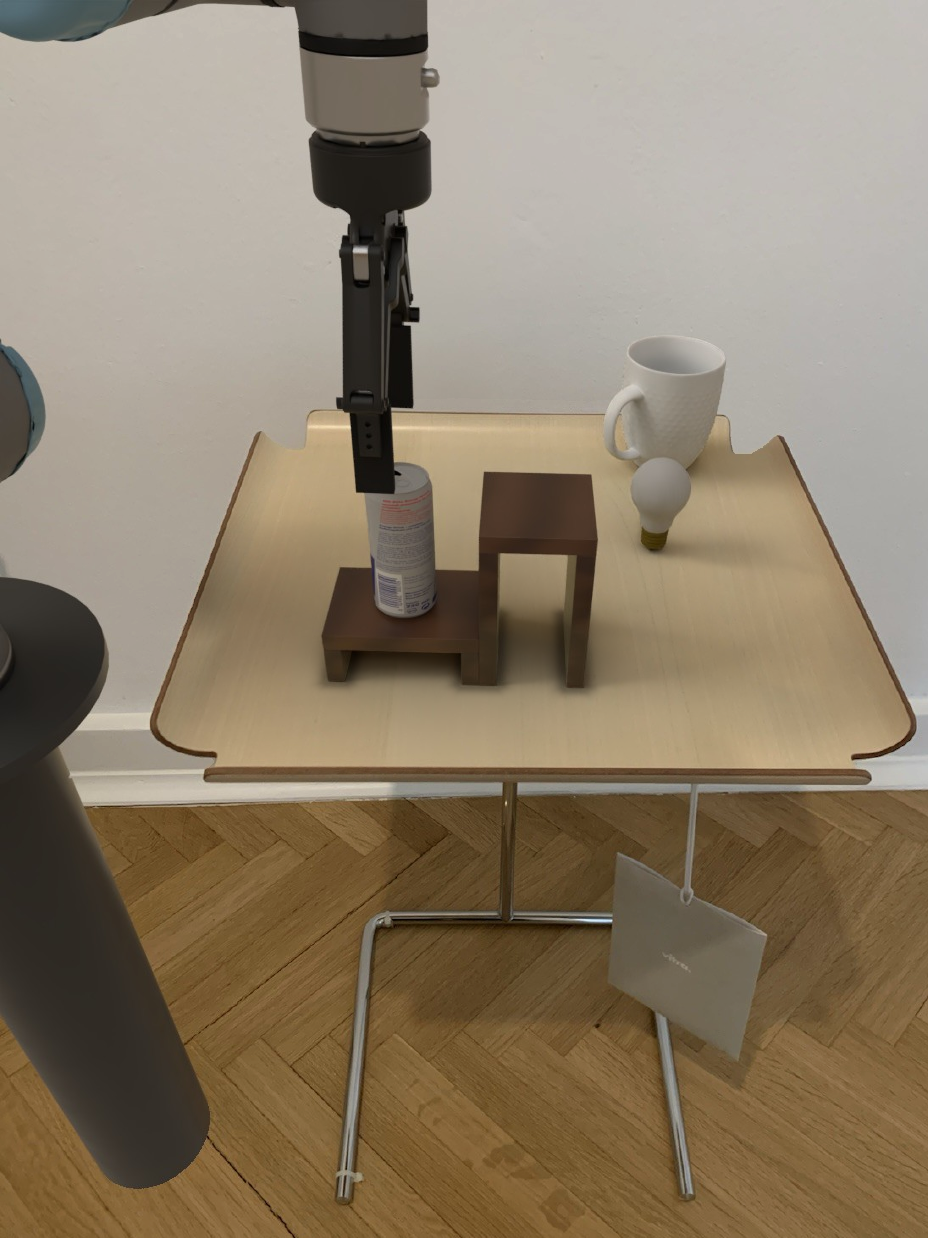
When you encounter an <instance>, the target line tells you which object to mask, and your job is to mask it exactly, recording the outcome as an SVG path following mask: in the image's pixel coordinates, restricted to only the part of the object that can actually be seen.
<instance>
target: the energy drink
mask: <svg viewBox="0 0 928 1238" xmlns="http://www.w3.org/2000/svg"><path fill="white" fill-rule="evenodd" d="M394 471H395V493H394V494H375V493H363V494H364V503H365V514H366V515H365V516H366V527H367V535H368V546H369V547H368V548H369V558H370V566H371V567H370V568H371V569H372V580H373V590H374V600H375V604H376V606H377V607H378V608H379V610H381V611H382V612H384V613H385V614H387V615H389V616H392V617H395V618H413V617H417V616H420V615H422V614H424V613H426V612H427V611H429V610H430V609H431V608H432V607H433V606H434V604H435V602H436V599H437V589H436V570H437V568H436V565H437V564H436V541H435V521H434V520H435V518H434V494H433V492H434V491H433V483H432V481H431V479H430V474H429V472H428V471H427V470H426V469H425V468H424V467H422V466H421V465H418V464H416V463H411V462H406V461H405V462H404V461H396V462H395V461H394Z"/></svg>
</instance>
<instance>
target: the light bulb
mask: <svg viewBox="0 0 928 1238" xmlns="http://www.w3.org/2000/svg"><path fill="white" fill-rule="evenodd" d="M691 494H692V481H691V477H690V474H689V473H688V471H687V469H685V468H684V467H683V466H682V465H681V464H680V463H678V462H677V461H675V460H673V459H670V458H664V457H660V458H654V459H651V460H649V461H647V462H645V463H644V464H642V465H641V466H640V467H638V468H637V469H636V471H635V473H634V474H633V476H632V479H631V482H630V496H631V500H632V502H633V504H634V506H635V508H636V509H637V512H638V515H639V521H640V525H641V527H640V528H641V530H640V543H641V545H642V546H643V547H645V548H647V549H648V550H650V551H655V550H658V549H661V548H664V547H665V546H666V545H667V540H668V535H669V531H670V528H671V527H672V525H673V523H674V520H675V518H676V517H677V516H678V515H679V513H680V512H682V510H683V509H684V508H685V507H686V505H687V504H688V502H689V499H690V497H691Z"/></svg>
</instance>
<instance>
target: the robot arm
mask: <svg viewBox="0 0 928 1238" xmlns="http://www.w3.org/2000/svg"><path fill="white" fill-rule="evenodd" d="M203 4H204V5H215V4H216V5H233V6H234V5H239V6H260V7H261V6H262V7H269V8H283V9H284V8H286V7H287V8H294V12H295V16H296V20H297V26H298V27H297V29H298V31H297V33H298V34H297V35H298V50H299V61H300V73H301V83H302V94H303V96H302V97H303V104H304V105H303V107H304V117H305V120H306V122H307V123H308V124H309V125H310V126H311V127H312V128H314V129H315V130H314V131H313V132H312V133H311V135H310V137H309V138H308V148H309V151H308V152H309V161H310V162H309V163H310V170H311V171H310V172H311V181H312V182H311V184H312V189H313V190H312V192H313V195H314V196H315V198H316V200H318V201H319V202H320V203H321V204H322V205H325V206H327V207H329V208H331V209H339V210H342V211H343V212H344V213H346V214H347V215H348V216H349V222H348V223H347V228H346V229H347V230H346V232H347V233H346V234H342V236H341V243H340V247H339V249H338V257H339V259H340V272H341V300H342V303H341V304H342V305H341V311H342V312H341V313H342V314H341V316H342V317H341V319H342V320H341V321H342V323H341V325H342V329H341V330H342V335H341V336H342V337H341V339H342V340H341V341H342V397H340V396H336V397H335V405H336V409H337V410H342V411H343V413H345V414H349V424H350V438H351V449H352V461H353V473H354V484H355V485H354V486H355V494H364V493H375V494H394V493H395V471H394V462H395V455H394V454H395V453H394V435H393V434H394V433H393V432H394V431H393V415H392V413H393V412H392V408H393V409H411V410H412V409H414V405H415V404H414V403H415V402H414V401H415V400H414V399H415V398H414V375H413V374H414V373H413V372H414V371H413V344H412V343H413V342H412V325H407V324H406V325H405V323H416V324H419V323H420V321H421V319H420V318H421V307H420V306H412V305H413V304H412V303H413V301H414V294H413V291H412V280H411V279H412V278H411V269H410V260H409V258H410V257H409V250H408V248H409V229H408V225H406V218H405V211H409V210H414V209H416V208H419V207H421V206H422V205H424V204H426V203H427V202H428V200H429V199H430V197H431V195H432V191H433V189H432V187H433V185H432V183H433V181H432V141H431V139H430V138H429V137H428V135H427V134H426V133H425V132H424V131H422V129H423V130H424V128H425V127H426V126H427V125H428V123H429V122H430V120H431V119H430V92H429V90H428V88H429V89H430V88H433V89H434V88H437V87H438V86H439V85H440V81H441V76H440V75H439V72H438V69H436V68H433V67H431V68H428V67H427V68H426V63H427V61H428V60H429V50H428V49H429V32H428V30H429V29H428V28H429V27H428V0H0V33H1V34H2V35H6V36H8V37H10V38H13V39H16V40H20V41H24V42H31V43H32V42H34V43H45V42H52V41H56V42H62V43H63V42H64V43H75V42H81V41H85V40H90V39H92V38H95V37H96V36H98V35H101V34H103V33H104V32H106V31H107V30H110V29H113V28H116V27H117V28H118V27H121V26H123V25H126V24H130V23H133V22H136V21H139V20H143V19H146V18H150V17H157V16H160V15H165V14H167V13H172V12H176V11H179V10H183V9H186V8H190V7H193V6H197V5H203ZM46 419H47V415H46V404H45V399H44V396H43V392H42V389H41V386H40V383H39V381H38V379H37V377H36V375H35V373H34V372H33V370H32V369H31V366H29V364H28V363H27V361H26V360H25V359H24V357H23V356H21V354H20V353H19V352H18V351H17V350H16V349H15V348H14V347H13V346H10V345H7V346H6V345H5V344H3V343H2V339H1V338H0V484H1V483H2V482H4V481H6V480H7V479H8V478H10V477H12V476H13V475H15V474H17V472H18V471H19V470H20V469H21V468H22V466H23V465H24V463H25V462H26V460H27V458H28V457H29V456H31V454H32V453H33V452H34V451H35V450H36V449H37V447H38V446H39V444H40V442H41V440H42V437H43V435H44V432H45V429H46ZM14 664H15V653H14V650H13V647H12V644H11V642H10V640H9V637H8V635H7V633H6V632H5V631H4V629H3V627H2V626H1V624H0V690H1V689H2V688H3V687H4V685H5V684H6V682H7V681H8V679H9V677H10V676H11V673H12V671H13V668H14Z"/></svg>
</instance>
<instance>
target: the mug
mask: <svg viewBox="0 0 928 1238" xmlns="http://www.w3.org/2000/svg"><path fill="white" fill-rule="evenodd" d="M726 365H727V357H726V354H725V352H724V351H723V349H721V348H720V347H718V346H717V345H716V344H713V343H711V342H709V341H706V340H703V339H700V338H697V337H692V336H687V335H678V334H658V335H657V334H656V335H649V336H645V337H641V338H638V339H636V340H634V341H632V342H631V343H630V344H629V345H628V346H627V347H626V351H625V358H624V367H623V373H622V383H621V390H619V391H618V392H617V393H616V394H615V395H614V396H613V398H612V400H611V401H610V403H609V405H608V407H607V408H606V412H605V414H604V418H603V424H602V439H603V444H604V446H605V449H606V451H607V452H608V454H610V455H611V457H613V458H615V459H617V460H619V461H625V462H628V461H629V462H631V461H632V462H633V463H634V464H635V465H636V466H637V467H638V468H639V467H640V466H641V465H642V464H644V463H645V462H647V461H649V460H651V459H654V458H660V457H664V458H670V459H673V460H675V461H677V462H678V463H680V464H681V465H682V466H683V467H684V468H685V469H686V470H687V469H688V468H690V467H691V466H692V464H693V463H695V461H696V460H697V458H698V457H699V456H700V455H701V453H702V451H703V450H704V448H705V446H706V444H707V442H708V440H709V437H710V435H711V434H712V430H713V428H714V424H715V423H716V417H717V414H718V410H719V405H720V400H721V396H722V391H723V384H724V380H725V371H726V367H727V366H726ZM620 415H621V425H622V435H623V438H624V442H625V446H626V449H625V450H620V449H618V446H617V443H616V428H617V423H618V420H619V416H620Z"/></svg>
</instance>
